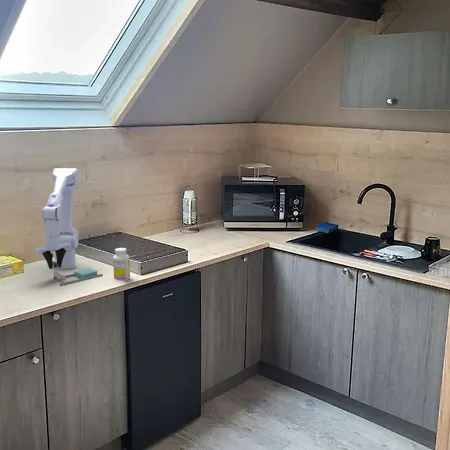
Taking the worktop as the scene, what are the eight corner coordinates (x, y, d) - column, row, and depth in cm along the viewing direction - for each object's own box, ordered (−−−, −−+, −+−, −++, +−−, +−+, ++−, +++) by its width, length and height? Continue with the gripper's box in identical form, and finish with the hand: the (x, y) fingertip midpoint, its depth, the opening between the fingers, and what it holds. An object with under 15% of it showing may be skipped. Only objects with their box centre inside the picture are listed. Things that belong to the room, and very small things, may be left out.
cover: (75, 278, 239) (74, 271, 238) (89, 275, 244) (89, 268, 243) (83, 282, 235) (82, 274, 234) (97, 278, 240) (97, 271, 239)
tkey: (51, 277, 237) (50, 261, 235) (54, 276, 238) (53, 261, 236) (63, 282, 230) (62, 266, 228) (66, 282, 231) (65, 266, 229)
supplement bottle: (122, 275, 242) (121, 246, 240) (133, 278, 238) (132, 248, 235) (110, 279, 237) (109, 249, 235) (121, 282, 233) (119, 252, 230)
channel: (49, 282, 233) (49, 279, 233) (90, 273, 246) (90, 269, 245) (61, 288, 226) (60, 284, 226) (102, 277, 239) (102, 274, 239)
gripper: (40, 240, 224) (43, 273, 227) (74, 234, 234) (75, 266, 237) (32, 237, 229) (34, 269, 232) (65, 231, 239) (67, 262, 242)
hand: (55, 267), depth 235 cm, fingers open, 3 cm apart
